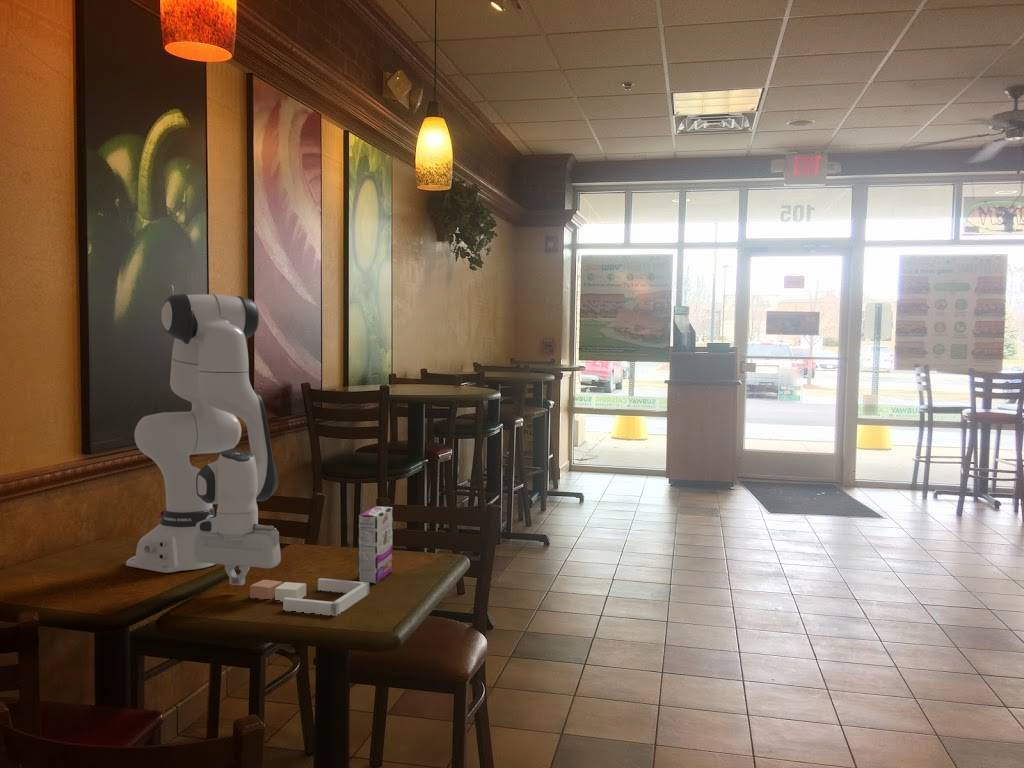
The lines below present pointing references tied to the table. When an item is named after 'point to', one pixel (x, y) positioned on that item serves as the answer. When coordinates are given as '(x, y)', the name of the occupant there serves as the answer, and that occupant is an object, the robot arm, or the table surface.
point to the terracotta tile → (264, 589)
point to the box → (324, 607)
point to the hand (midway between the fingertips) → (237, 584)
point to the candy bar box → (375, 544)
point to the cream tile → (290, 591)
